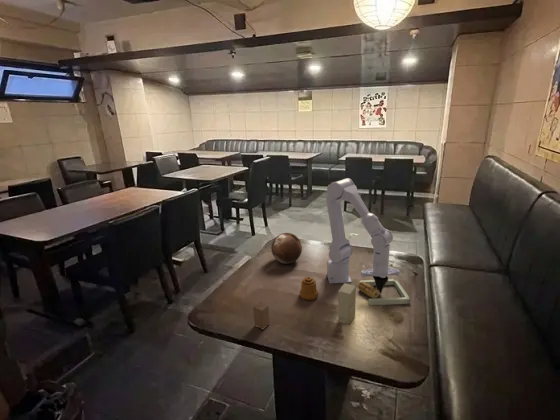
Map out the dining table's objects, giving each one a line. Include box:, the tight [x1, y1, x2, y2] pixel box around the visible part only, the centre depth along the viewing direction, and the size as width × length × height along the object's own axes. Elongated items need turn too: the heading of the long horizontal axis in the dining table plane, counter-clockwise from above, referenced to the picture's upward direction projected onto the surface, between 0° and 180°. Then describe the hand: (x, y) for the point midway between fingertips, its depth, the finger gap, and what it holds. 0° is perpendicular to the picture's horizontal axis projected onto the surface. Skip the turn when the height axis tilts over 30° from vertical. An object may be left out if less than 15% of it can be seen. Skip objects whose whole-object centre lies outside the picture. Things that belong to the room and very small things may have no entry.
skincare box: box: [337, 283, 357, 325], centre depth 106 cm, size 6×4×12 cm
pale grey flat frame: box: [359, 278, 411, 306], centre depth 121 cm, size 15×14×2 cm
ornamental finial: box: [299, 276, 319, 301], centre depth 121 cm, size 8×8×8 cm
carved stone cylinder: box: [357, 280, 381, 299], centre depth 121 cm, size 8×4×4 cm, turn 27°
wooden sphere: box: [271, 232, 303, 265], centre depth 149 cm, size 15×15×15 cm
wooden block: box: [252, 301, 271, 328], centre depth 105 cm, size 4×4×8 cm
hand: (379, 291), depth 121 cm, fingers closed
